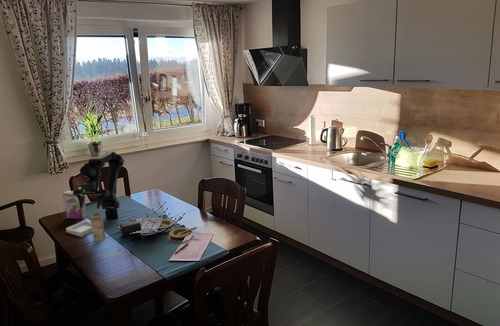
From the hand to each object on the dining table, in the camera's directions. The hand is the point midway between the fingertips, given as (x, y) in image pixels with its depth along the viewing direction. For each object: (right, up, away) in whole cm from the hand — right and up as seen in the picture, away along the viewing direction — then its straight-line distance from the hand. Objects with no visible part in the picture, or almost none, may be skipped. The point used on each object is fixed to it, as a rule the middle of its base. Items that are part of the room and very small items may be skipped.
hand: (89, 208), depth 202 cm
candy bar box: (-20, -9, +28) cm, 36 cm away
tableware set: (+44, -14, +4) cm, 46 cm away
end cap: (+22, -15, +3) cm, 26 cm away
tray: (-8, -13, +10) cm, 18 cm away
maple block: (+6, -16, -1) cm, 17 cm away
